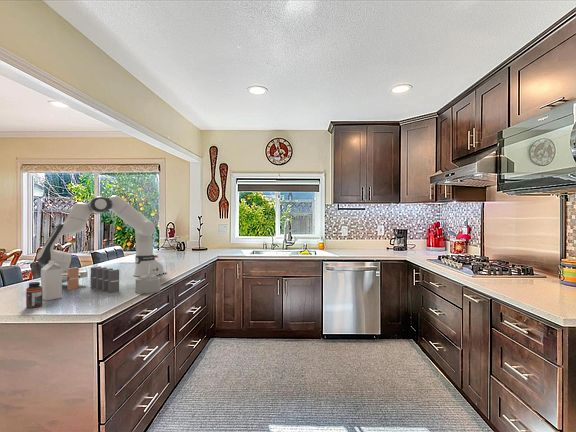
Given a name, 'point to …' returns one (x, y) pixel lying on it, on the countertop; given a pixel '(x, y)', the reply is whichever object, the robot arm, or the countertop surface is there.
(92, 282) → the domino
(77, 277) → the terracotta domino
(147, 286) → the light gray block
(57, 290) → the milk carton
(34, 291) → the supplement bottle
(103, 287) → the domino
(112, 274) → the domino
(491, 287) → the countertop surface
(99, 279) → the domino
